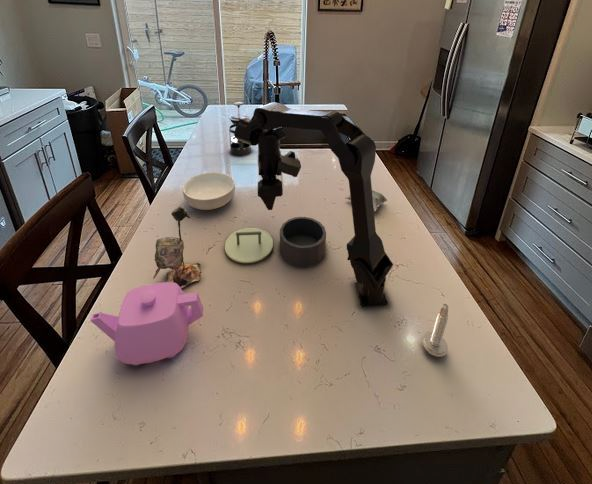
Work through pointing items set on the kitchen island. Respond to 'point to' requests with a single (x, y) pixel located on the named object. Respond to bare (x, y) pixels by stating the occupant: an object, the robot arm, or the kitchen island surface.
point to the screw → (437, 335)
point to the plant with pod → (175, 256)
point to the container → (302, 241)
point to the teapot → (151, 322)
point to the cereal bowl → (209, 190)
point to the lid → (248, 245)
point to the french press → (236, 143)
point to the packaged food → (374, 199)
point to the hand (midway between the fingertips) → (269, 199)
